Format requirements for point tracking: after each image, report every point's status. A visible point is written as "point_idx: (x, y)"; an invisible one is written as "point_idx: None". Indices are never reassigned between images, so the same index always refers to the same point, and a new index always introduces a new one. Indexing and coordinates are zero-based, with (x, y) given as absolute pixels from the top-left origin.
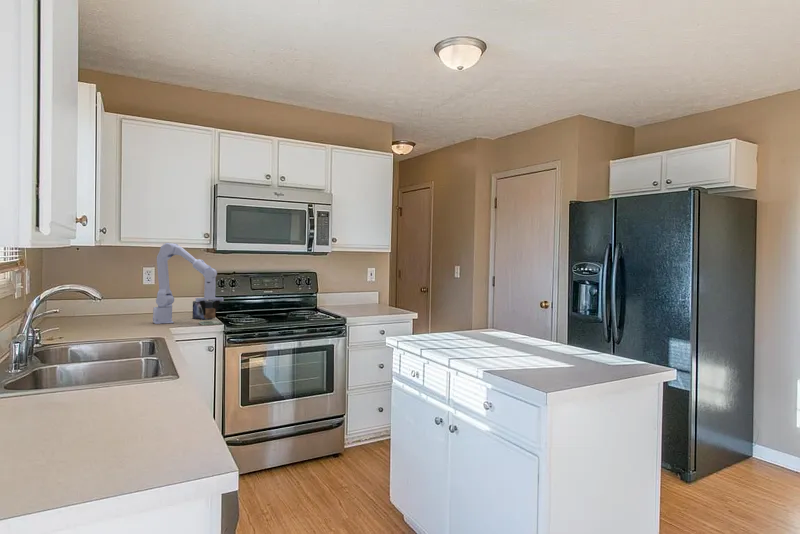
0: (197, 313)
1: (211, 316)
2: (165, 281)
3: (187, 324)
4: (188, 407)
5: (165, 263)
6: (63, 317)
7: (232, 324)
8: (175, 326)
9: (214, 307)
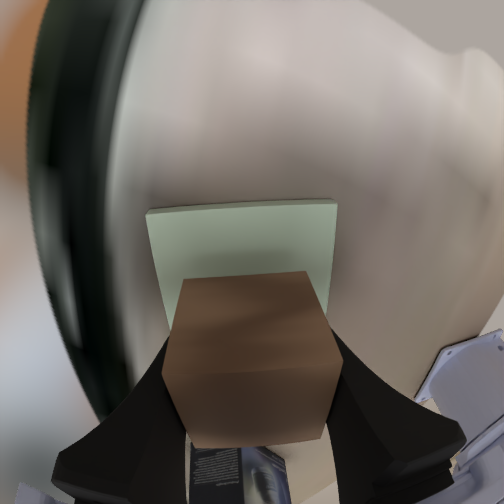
0: (273, 474)
1: (233, 287)
2: None
3: (416, 281)
4: None
5: None
6: None
7: (44, 154)
8: (498, 205)
9: (176, 435)
